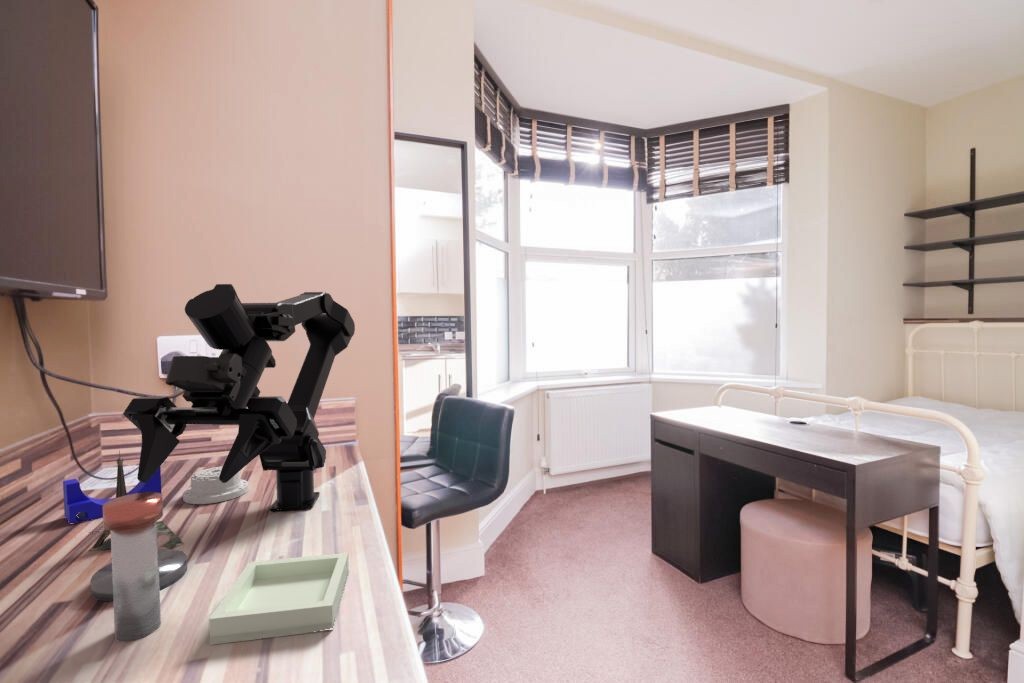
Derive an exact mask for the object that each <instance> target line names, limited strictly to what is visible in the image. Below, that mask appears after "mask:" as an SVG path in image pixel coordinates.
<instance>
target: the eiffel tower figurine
mask: <svg viewBox="0 0 1024 683" xmlns="http://www.w3.org/2000/svg"><path fill="white" fill-rule="evenodd" d="M118 454H119V456H118V458H117V459H116V461H115V462H116V464H117V469H116V470H117V471H116V472H117V474H116V488H115V489H116V492H115V498H118V497H121V496H125V495H127V492H128V491H127V487H126V481H125V471H124V458H122V457H121V451H120V450H119V452H118ZM100 530H101V529H99V530H95V531H91V532H92V534H91V535H94V534H93V533H94V532H97V533H99V532H98V531H100ZM91 532H89V533H91ZM157 535H158V536H170V537H169V539H168V540H167V541H166V542H165V543H163V544H162V545H161V546H160V547H161V548H164V549H171V548H174V547H178V546H180V545H183V544H185V543H184V541H183V540H181V538H180V537H178V536H177V534H175V532H174V531H173V529H172V530H171V528H170V527H169V526H168V525H167V524H166V523H165V522H164V521H162V520H157ZM109 536H111V532H110V530H106V529H105V530H104V531H103V532H101V534H100V536H99V537H98V538H97V540H96V541H95V542H94V544H93V546H92V547H91V548H90V549H89V550H88V552H98V551H99V552H100V551H101V552H102V551H111V537H110V538H108V537H109ZM107 538H108V539H107ZM106 539H107V540H106Z"/></svg>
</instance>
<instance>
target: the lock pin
mask: <svg viewBox="0 0 1024 683" xmlns="http://www.w3.org/2000/svg"><path fill="white" fill-rule="evenodd" d="M114 498H115V499H112V498H111V499H112V500H110V501H108V502H106V503H105V504H103V517H102V523H103V524H102V525H103V526H102V527H103V528H104V529H106V530H110V532H111V534H110V538H111V550H110V552H111V553H110V554H111V563H112V579H113V601H112V602H113V620H114V621H113V622H114V639H115V641H119V642H132V641H136V640H139V639H142V638H144V637H147V636H149V635H150V634H153V632H155V631H157V629H158V628H160V626H161V623H162V619H161V618H162V617H161V592H160V587H159V561H158V550H159V541H158V540H159V539H158V536H159V535H157V521H160V519H162V517H163V516H164V511H163V510H164V509H163V507H164V506H163V494H162V492H161V493H158V492H143V493H135V494H130V495H125V496H121V497H118V498H116V497H114Z"/></svg>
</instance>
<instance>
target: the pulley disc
mask: <svg viewBox="0 0 1024 683" xmlns="http://www.w3.org/2000/svg"><path fill="white" fill-rule="evenodd" d="M158 561H159V587H160V590H163V589H165V588H168V587H170V586H171V585H173V584H174V583H176V582H177V581H179V580H180V579H182V578H183V577H184V576H185V574H186V573H187V572H188V555H187V553H186V552H185V551H183V550H180V549H171V548H169V549H168V548H164V549H158ZM90 593H91V597H92V598H93V599H94V600H96V601H101V602H113V579H112V562H110V563H109V564H107V565H105V566H103V567H101V568H100V569H98V570H97V571H96V572H95V573H94V574H92V576H91V578H90Z"/></svg>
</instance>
